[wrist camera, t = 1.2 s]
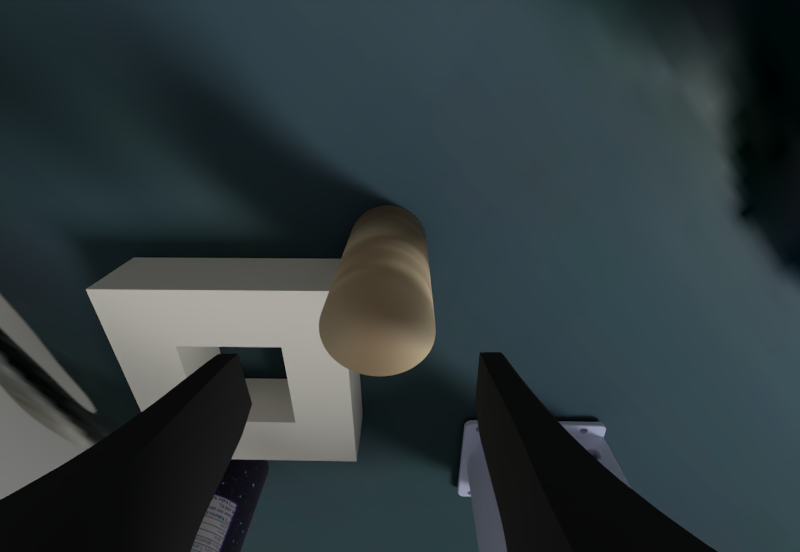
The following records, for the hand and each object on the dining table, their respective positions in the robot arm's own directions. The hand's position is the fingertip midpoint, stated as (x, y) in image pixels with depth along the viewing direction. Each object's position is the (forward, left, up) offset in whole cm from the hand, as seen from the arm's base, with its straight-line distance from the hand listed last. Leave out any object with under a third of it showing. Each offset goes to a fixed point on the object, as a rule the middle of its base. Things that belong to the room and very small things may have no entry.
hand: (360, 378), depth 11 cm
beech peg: (0, 0, -10) cm, 10 cm away
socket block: (+8, +7, -10) cm, 14 cm away
